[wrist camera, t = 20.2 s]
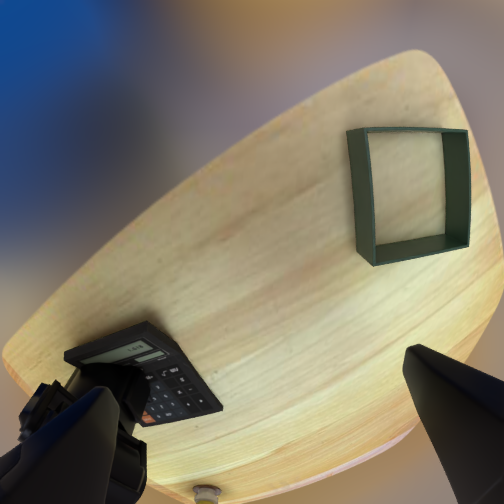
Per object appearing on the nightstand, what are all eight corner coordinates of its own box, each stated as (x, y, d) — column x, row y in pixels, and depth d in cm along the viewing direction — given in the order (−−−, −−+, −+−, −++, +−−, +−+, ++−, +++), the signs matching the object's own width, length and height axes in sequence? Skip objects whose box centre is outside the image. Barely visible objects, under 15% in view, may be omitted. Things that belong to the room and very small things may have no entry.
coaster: (197, 495, 31) (197, 496, 31) (189, 484, 30) (189, 485, 30) (224, 495, 31) (224, 495, 31) (217, 484, 30) (217, 485, 30)
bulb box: (356, 251, 20) (372, 266, 17) (346, 130, 18) (363, 127, 15) (446, 235, 20) (469, 247, 17) (443, 130, 17) (467, 129, 15)
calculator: (144, 421, 26) (138, 442, 23) (75, 337, 22) (60, 356, 20) (223, 404, 25) (221, 427, 22) (154, 305, 22) (144, 326, 19)
